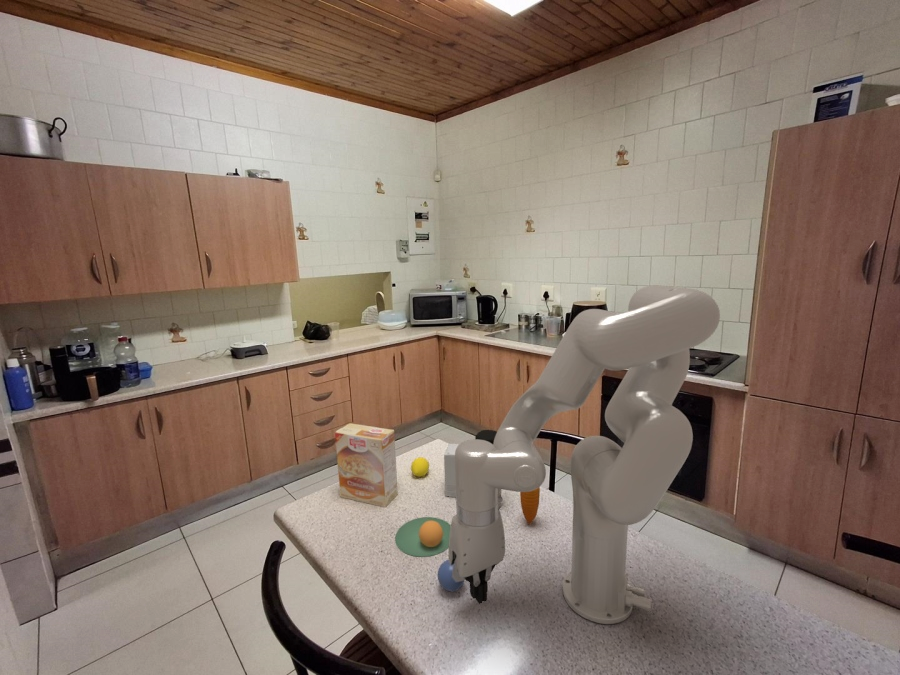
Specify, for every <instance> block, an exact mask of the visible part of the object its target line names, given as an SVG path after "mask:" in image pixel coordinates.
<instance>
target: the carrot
mask: <svg viewBox="0 0 900 675" xmlns="http://www.w3.org/2000/svg"><path fill="white" fill-rule="evenodd" d="M540 487H541V486H540ZM540 487H539V488H537V489H535V490H533V491H529V492H519V493H520V505H521V510H522V515H523V516H524V520H525V521H526V522H527V524H528V525H531V524H532V523H533V522H534V520H535V519H536V517H537V514H538V510H539V506H540V492H541V491H540V490H541V489H540Z"/></svg>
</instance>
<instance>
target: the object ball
mask: <svg viewBox="0 0 900 675" xmlns="http://www.w3.org/2000/svg"><path fill="white" fill-rule="evenodd" d="M442 537H443V530H442V527H441V526H440V524H439V523H437V522H436V521H427V522H425V523H424V524H423V525H422V526H421V528H420V530H419V538H420V541H421V542H422V544H424V545H425V546H427V547H434V546H437V545H438V544H439V543H440V542H441V540H442Z"/></svg>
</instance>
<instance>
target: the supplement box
mask: <svg viewBox="0 0 900 675" xmlns="http://www.w3.org/2000/svg"><path fill="white" fill-rule="evenodd" d="M459 444H460V443H448V445H447V448H446V449H445V452H444V454H443V461H444V462H443V466H444V469H443V470H444V496H445V497H447V496H449V498H456V478H455V451H456V448H457V447H458V445H459Z"/></svg>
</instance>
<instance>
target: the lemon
mask: <svg viewBox="0 0 900 675" xmlns="http://www.w3.org/2000/svg"><path fill="white" fill-rule="evenodd" d="M429 468H430V463H429V461H428V460H427V459H426V458H424V457H421V456H420V457H417V458H415V459H414V460H413V461H412V463H411V465H410V471H411V473H412V474H413V475H414V476H416V477H419V478H420V477H424V476H426V474H427V473H428V471H429V470H430V469H429Z"/></svg>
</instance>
